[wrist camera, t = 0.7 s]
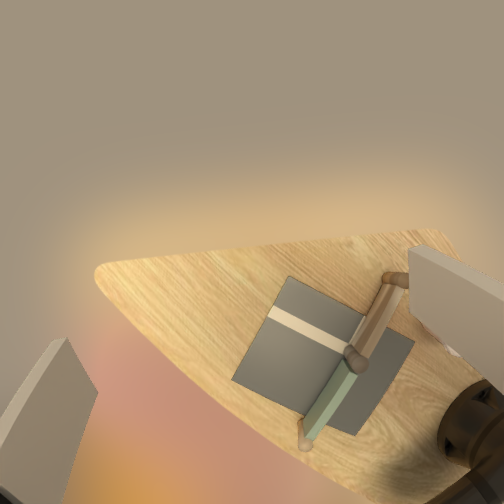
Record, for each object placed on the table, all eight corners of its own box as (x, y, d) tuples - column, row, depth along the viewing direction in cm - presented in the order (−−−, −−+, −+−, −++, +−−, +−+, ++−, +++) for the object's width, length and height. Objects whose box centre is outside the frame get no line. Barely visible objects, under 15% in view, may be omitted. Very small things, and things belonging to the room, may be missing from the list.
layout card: (414, 341, 37) (415, 342, 37) (354, 435, 37) (355, 436, 37) (288, 275, 40) (288, 275, 39) (231, 379, 40) (231, 380, 39)
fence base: (397, 276, 38) (416, 277, 31) (352, 360, 38) (363, 376, 31) (384, 269, 38) (402, 269, 32) (339, 354, 38) (349, 369, 32)
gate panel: (339, 357, 38) (348, 372, 32) (351, 362, 38) (361, 378, 31) (295, 426, 38) (295, 448, 32) (306, 431, 38) (308, 453, 32)
